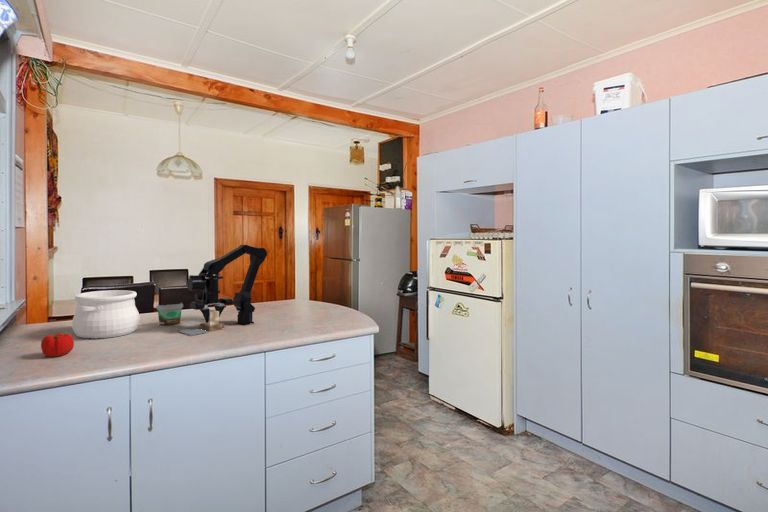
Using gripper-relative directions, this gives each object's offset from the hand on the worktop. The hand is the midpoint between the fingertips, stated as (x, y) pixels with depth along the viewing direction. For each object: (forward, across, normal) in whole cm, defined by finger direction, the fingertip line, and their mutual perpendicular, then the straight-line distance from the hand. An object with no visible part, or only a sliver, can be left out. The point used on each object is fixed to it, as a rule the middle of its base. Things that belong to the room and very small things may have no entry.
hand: (211, 321), depth 188 cm
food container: (+4, +7, -22) cm, 23 cm away
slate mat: (+4, +9, 0) cm, 10 cm away
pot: (+4, +33, -27) cm, 43 cm away
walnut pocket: (+4, 0, 0) cm, 4 cm away
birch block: (+3, 0, 0) cm, 3 cm away
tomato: (+4, +57, -6) cm, 57 cm away
